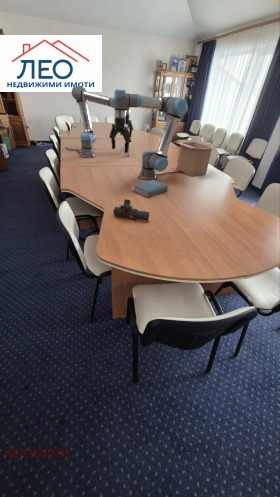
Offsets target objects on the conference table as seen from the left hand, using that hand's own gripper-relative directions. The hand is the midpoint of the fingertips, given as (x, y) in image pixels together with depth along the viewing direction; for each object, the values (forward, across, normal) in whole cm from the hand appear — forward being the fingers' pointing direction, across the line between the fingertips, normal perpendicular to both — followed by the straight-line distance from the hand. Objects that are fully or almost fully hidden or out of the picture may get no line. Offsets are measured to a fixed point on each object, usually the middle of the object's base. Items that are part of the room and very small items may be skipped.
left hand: (125, 136), depth 248 cm
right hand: (-7, +68, -74) cm, 101 cm away
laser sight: (+22, +109, -104) cm, 152 cm away
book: (+22, +89, -60) cm, 109 cm away
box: (+22, +82, +14) cm, 86 cm away
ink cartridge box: (+22, 0, 0) cm, 22 cm away
